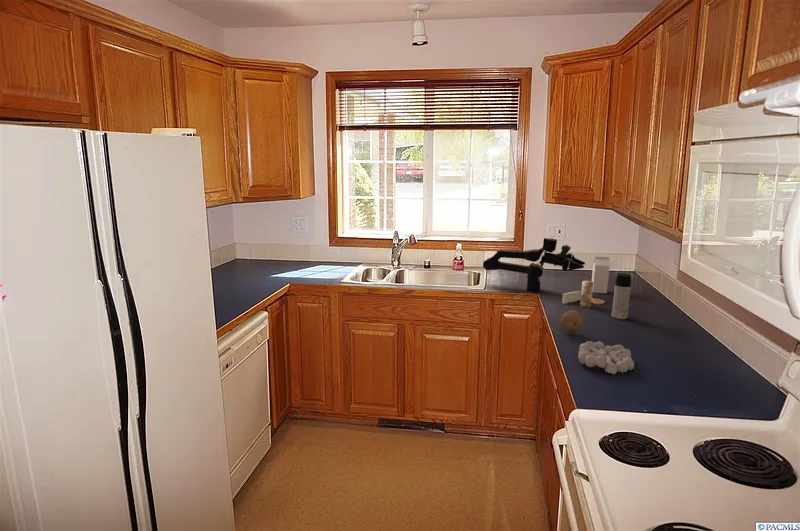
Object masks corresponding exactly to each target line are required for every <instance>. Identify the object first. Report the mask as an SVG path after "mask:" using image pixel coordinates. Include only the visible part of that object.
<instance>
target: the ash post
mask: <svg viewBox="0 0 800 531" xmlns="http://www.w3.org/2000/svg"><path fill="white" fill-rule="evenodd" d="M580 291H581V299H580V303H579V304H580V305H579V306H581V307H583V308H591V307H592V304H591V301H592V298H593V292H592V291H593V282H592V280H583V281H582V283H581V290H580Z"/></svg>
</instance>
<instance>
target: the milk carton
mask: <svg viewBox="0 0 800 531" xmlns="http://www.w3.org/2000/svg"><path fill="white" fill-rule="evenodd" d="M592 264H593V265H592V271H591V272H592V273H591V281H592V282H593V291H592V293H598V294H607V293H608V285H609V275H610V257H609V256H594V259H593V262H592Z"/></svg>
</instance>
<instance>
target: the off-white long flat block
mask: <svg viewBox="0 0 800 531" xmlns="http://www.w3.org/2000/svg"><path fill="white" fill-rule="evenodd" d="M581 291H582V290H575V291H570V292H565V293H562V300H561V303H562V304H564V305H565V304H569V302H570V303H573V302H578V300H579V301H581Z"/></svg>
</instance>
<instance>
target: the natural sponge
mask: <svg viewBox="0 0 800 531" xmlns="http://www.w3.org/2000/svg"><path fill="white" fill-rule="evenodd" d="M583 325H584V317H583V315H582V314H581V313H580V312H579V311H577V310H575V309H574V310H568V311H566V312H565V313H563V314H562V315H561V318H560V326H561V328H562V329H563V330H564V331H566V332H567V333H568V334H570V335H573V334H574V335H575V334H577V333H578V332H579V331H580V330H581V329H582V327H583Z"/></svg>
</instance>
